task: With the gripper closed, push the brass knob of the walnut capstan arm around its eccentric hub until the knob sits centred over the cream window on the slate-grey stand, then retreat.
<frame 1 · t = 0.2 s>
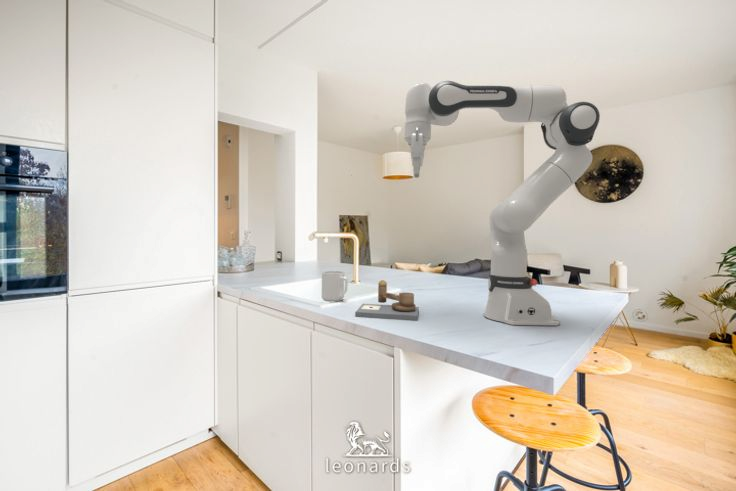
hand: (416, 175, 118), 47 cm above the worktop, fingers open, 8 cm apart
stand: (388, 313, 117), on the worktop
mug: (335, 300, 138), on the worktop
capstan: (395, 294, 121), point 6 cm above the worktop, hinge at -40.0°
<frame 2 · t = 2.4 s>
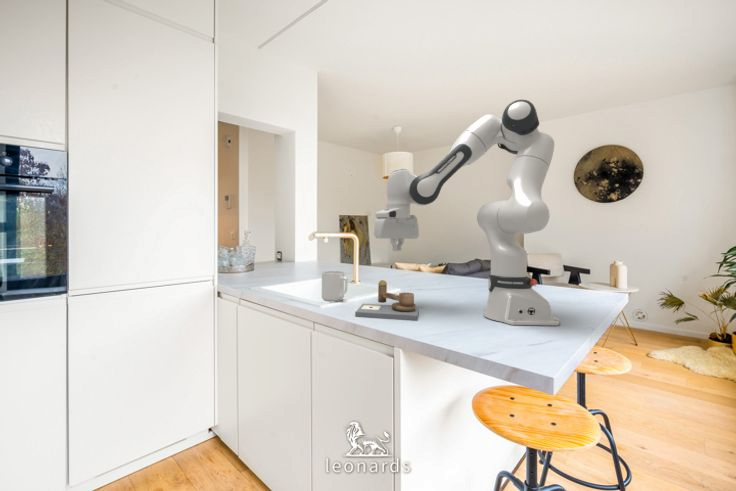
hand: (397, 250, 130), 21 cm above the worktop, fingers closed
nothing on the worktop moved.
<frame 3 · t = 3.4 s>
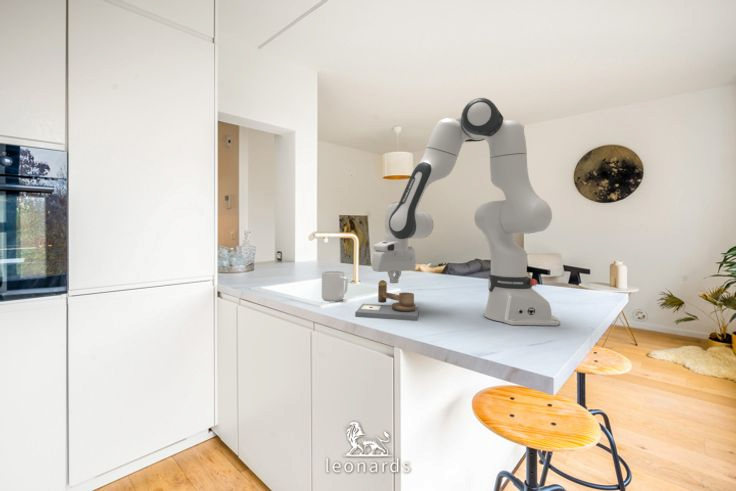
hand: (394, 283, 129), 9 cm above the worktop, fingers closed
nothing on the worktop moved.
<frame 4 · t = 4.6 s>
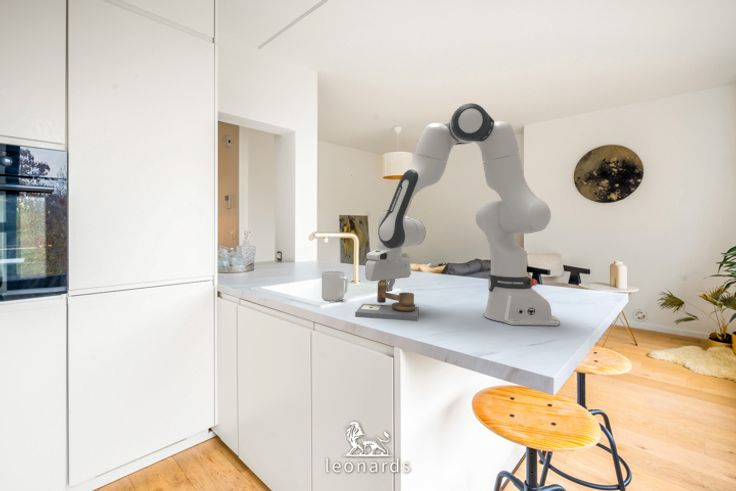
hand: (388, 291, 128), 6 cm above the worktop, fingers closed
capstan: (394, 294, 121), point 6 cm above the worktop, hinge at -38.1°, touching gripper
everything else where it was.
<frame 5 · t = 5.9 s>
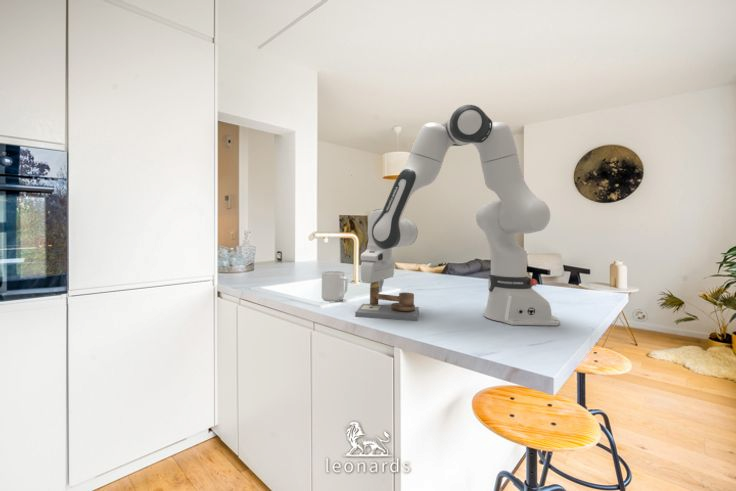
hand: (378, 292, 125), 6 cm above the worktop, fingers closed
capstan: (391, 295, 119), point 6 cm above the worktop, hinge at -16.4°, touching gripper
everything else where it was.
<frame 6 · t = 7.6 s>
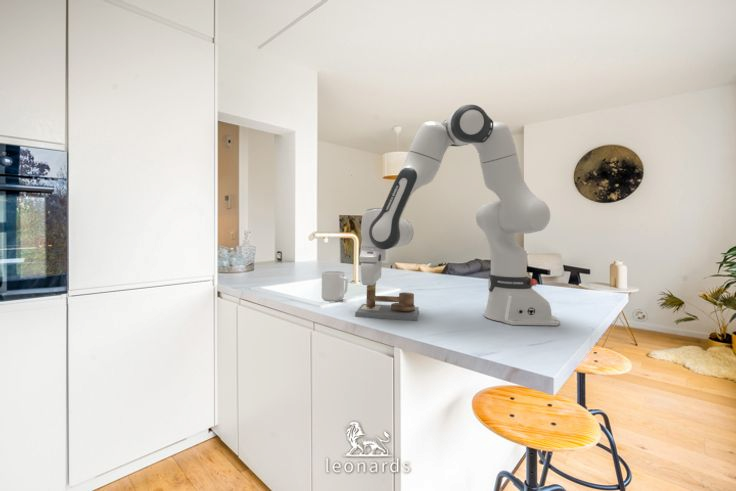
hand: (371, 294, 121), 6 cm above the worktop, fingers closed
capstan: (390, 296, 117), point 6 cm above the worktop, hinge at 4.5°, touching gripper
everything else where it was.
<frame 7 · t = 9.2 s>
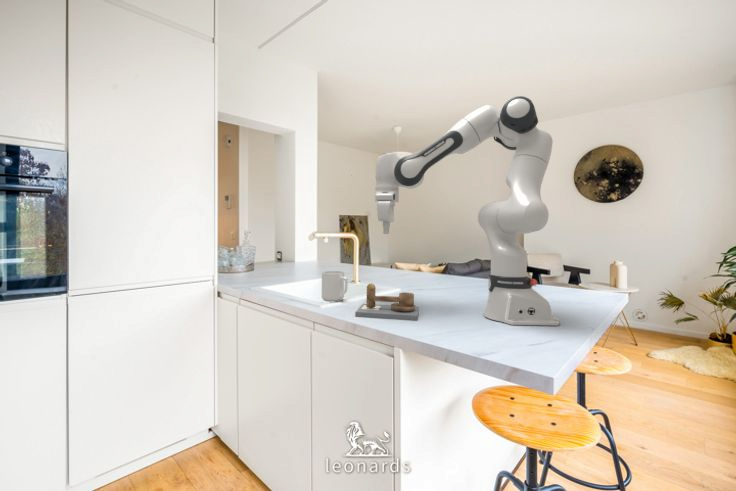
hand: (386, 234, 131), 27 cm above the worktop, fingers closed
capstan: (390, 296, 117), point 6 cm above the worktop, hinge at 4.6°
everything else where it was.
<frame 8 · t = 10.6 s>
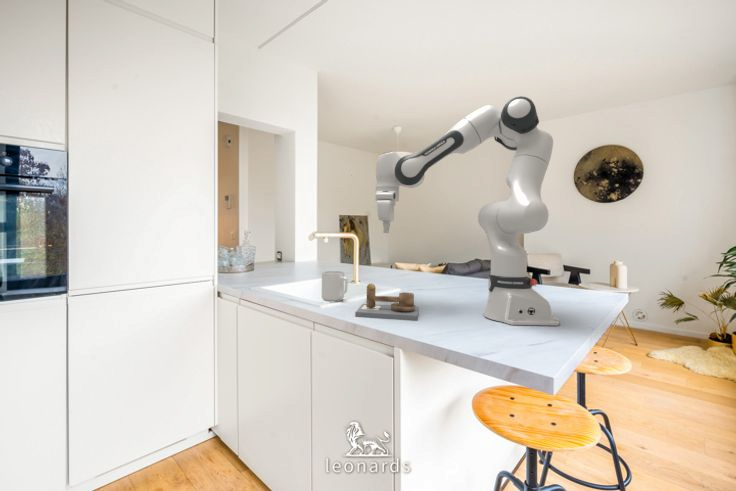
hand: (386, 233, 131), 27 cm above the worktop, fingers closed
nothing on the worktop moved.
at the end: capstan at +5° (first picture: -40°); mug moved 0.2 cm from its start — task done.
